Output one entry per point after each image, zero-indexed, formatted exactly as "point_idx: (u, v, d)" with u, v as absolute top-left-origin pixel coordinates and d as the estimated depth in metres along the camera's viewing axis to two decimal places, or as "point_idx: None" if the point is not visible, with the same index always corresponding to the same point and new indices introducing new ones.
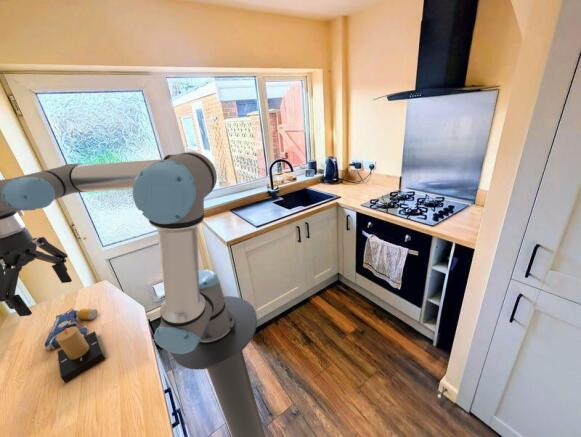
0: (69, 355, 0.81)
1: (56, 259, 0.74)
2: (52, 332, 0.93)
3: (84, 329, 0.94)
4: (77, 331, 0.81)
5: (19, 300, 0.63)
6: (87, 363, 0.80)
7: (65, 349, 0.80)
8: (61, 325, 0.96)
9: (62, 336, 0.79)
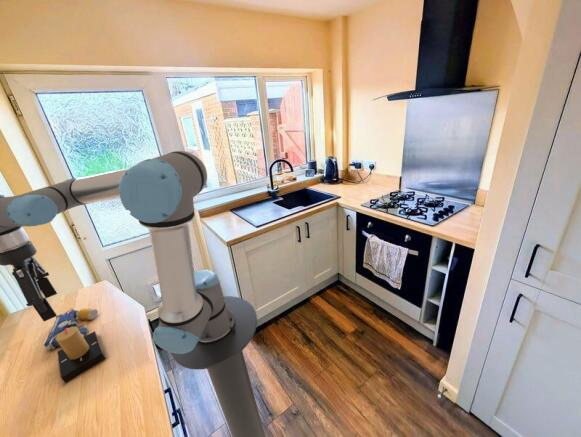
0: (69, 355, 0.81)
1: (42, 272, 0.76)
2: (52, 332, 0.93)
3: (84, 329, 0.94)
4: (77, 331, 0.81)
5: (47, 302, 0.68)
6: (87, 363, 0.80)
7: (65, 349, 0.80)
8: (61, 325, 0.96)
9: (62, 336, 0.79)
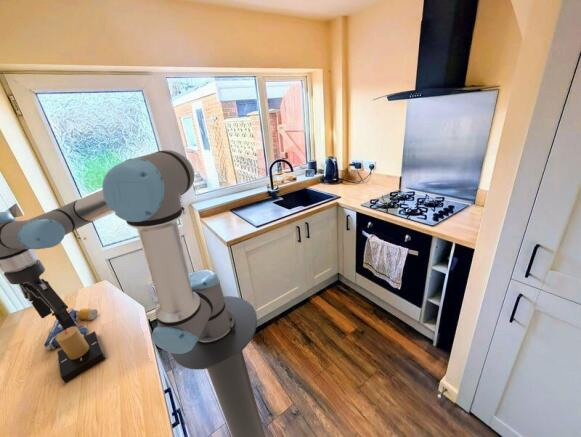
0: (69, 355, 0.81)
1: None
2: (52, 332, 0.93)
3: (84, 329, 0.94)
4: (77, 331, 0.81)
5: (67, 311, 0.74)
6: (87, 363, 0.80)
7: (65, 349, 0.80)
8: None
9: (62, 336, 0.79)
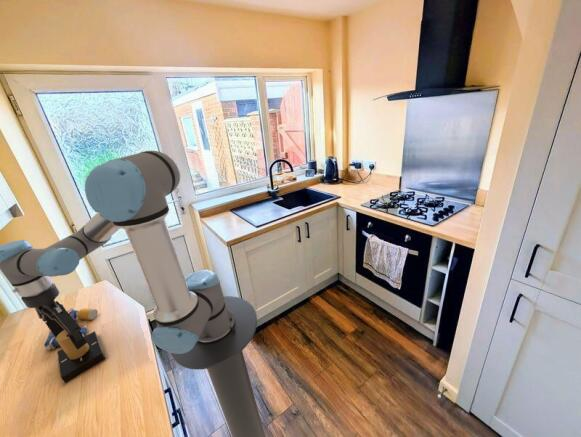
0: (69, 355, 0.81)
1: None
2: None
3: (84, 329, 0.94)
4: None
5: (79, 331, 0.78)
6: (87, 363, 0.80)
7: (65, 349, 0.80)
8: None
9: (62, 336, 0.79)
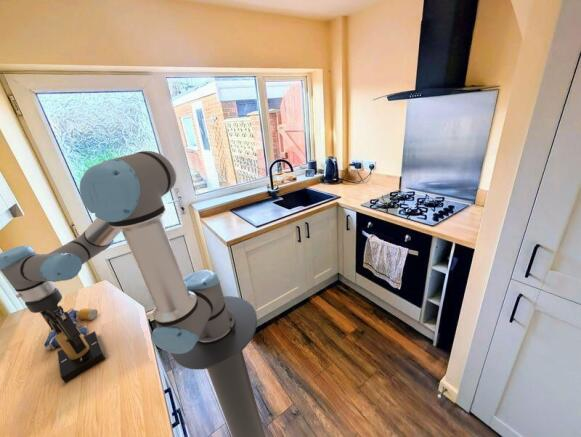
0: (69, 355, 0.81)
1: None
2: (52, 332, 0.93)
3: (84, 329, 0.94)
4: None
5: (79, 336, 0.81)
6: (87, 363, 0.80)
7: (65, 349, 0.80)
8: None
9: (62, 336, 0.79)
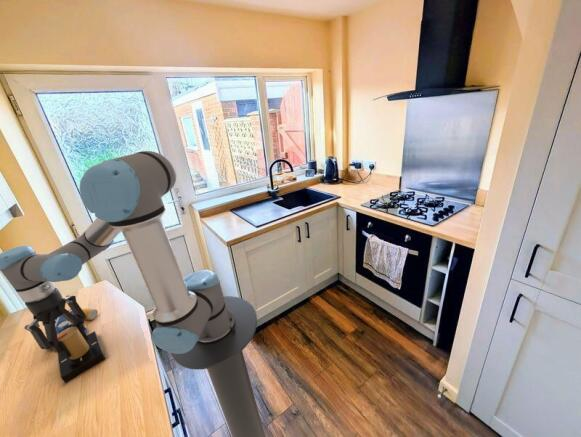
0: (85, 345, 0.84)
1: None
2: None
3: None
4: None
5: None
6: (87, 363, 0.80)
7: (81, 339, 0.83)
8: (61, 325, 0.96)
9: (70, 333, 0.80)
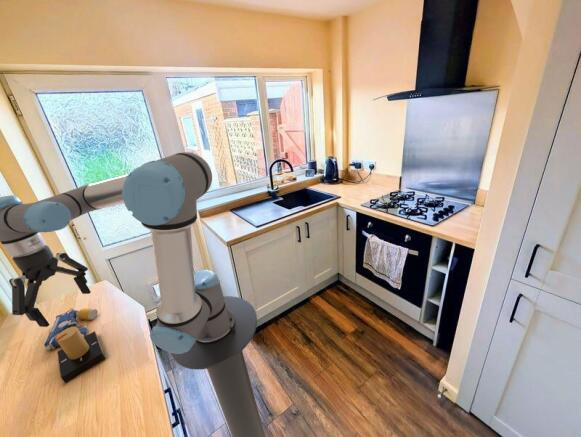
0: (85, 345, 0.84)
1: None
2: (52, 332, 0.93)
3: (84, 329, 0.94)
4: None
5: None
6: (87, 363, 0.80)
7: (81, 339, 0.83)
8: (61, 325, 0.96)
9: (70, 333, 0.80)
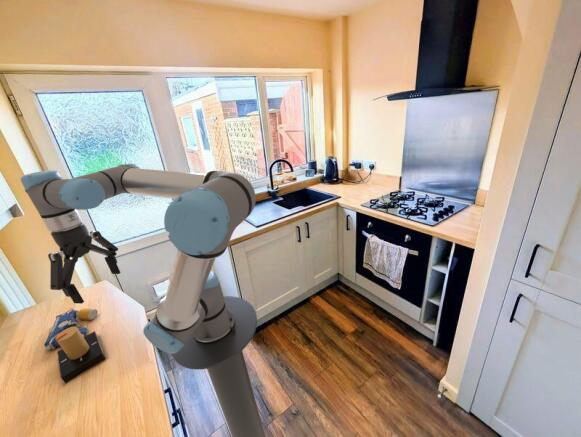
0: (85, 345, 0.84)
1: None
2: (52, 332, 0.93)
3: (84, 329, 0.94)
4: None
5: None
6: (87, 363, 0.80)
7: (81, 339, 0.83)
8: (61, 325, 0.96)
9: (70, 333, 0.80)
